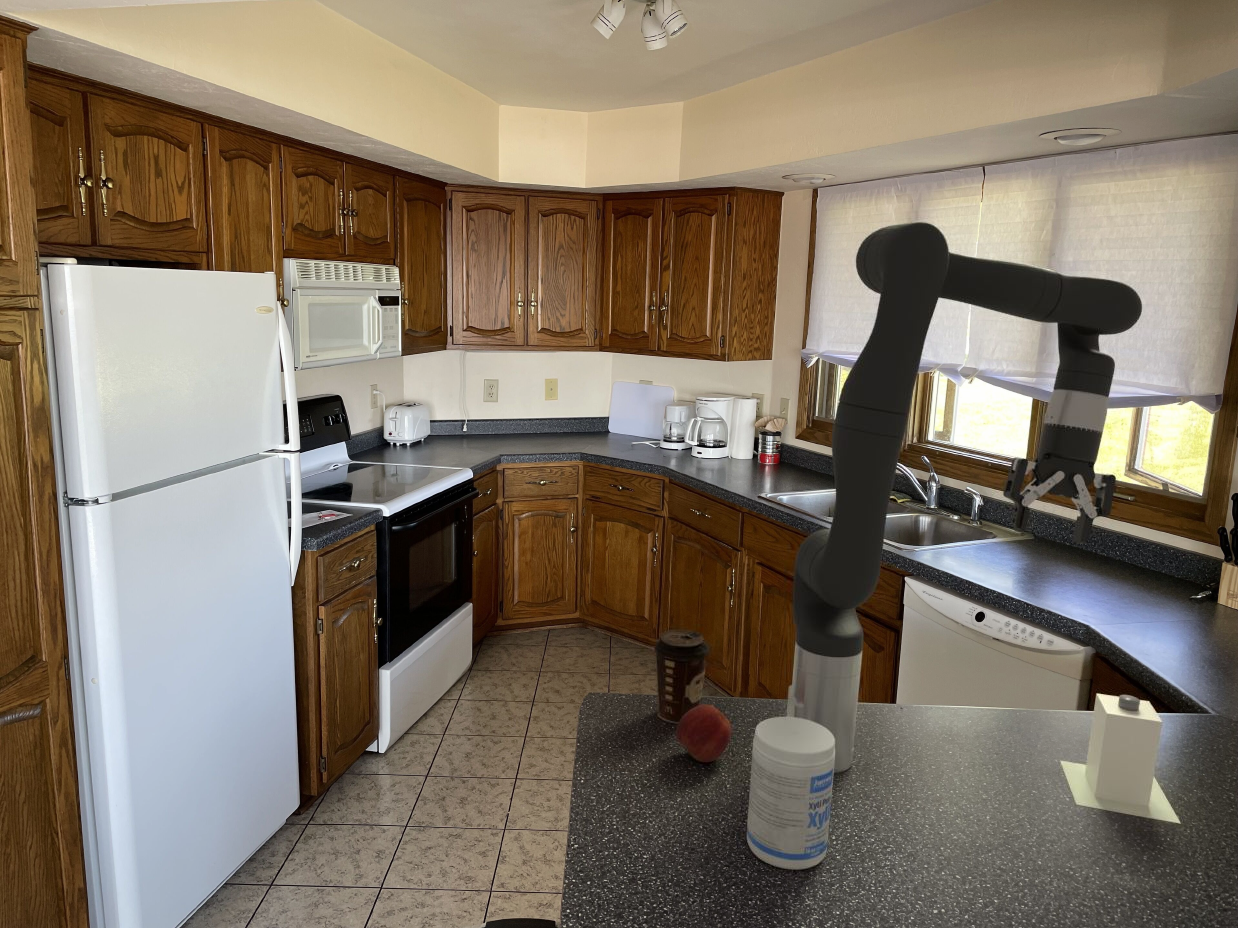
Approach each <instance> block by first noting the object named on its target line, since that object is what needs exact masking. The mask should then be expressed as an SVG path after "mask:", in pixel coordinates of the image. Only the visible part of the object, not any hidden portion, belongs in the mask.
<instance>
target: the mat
mask: <svg viewBox="0 0 1238 928" xmlns="http://www.w3.org/2000/svg"><path fill="white" fill-rule="evenodd" d="M1059 762H1060V764H1061V767H1062V770H1063V772H1064V775H1065V778H1066V781H1067V783H1068V786H1069V789H1070V791H1071V793H1072V797H1073V799H1074V801H1075V802H1074V803H1075V804H1076V805H1077V806H1082V807H1088V808H1093V809H1098V810H1102V811H1103V810H1104V811H1109V812H1114V813H1120V814H1125V815H1129V816H1131V815H1132V816H1137V817H1142V818H1146V819H1147V818H1148V819H1152V820H1158V821H1164V822H1169V823H1174V824H1181V821H1180V819H1179V817H1178V816H1177V814H1176V813H1175V811H1174V808H1173V807H1172V805H1171V803H1170V802H1169V800H1168V799H1167V797H1166V795H1165V793H1164V791H1163V790H1162V788H1161V786H1160V784H1159V783H1158V781H1157V779H1156V778H1155V776H1154V778H1153V784H1152V790H1151V797H1150V803H1149V807H1146V806H1141V805H1135V804H1130V803H1124V802H1119V801H1113V800H1108V799H1102V798H1097V797H1094V794H1093V792H1092V790H1091V787H1090V785H1089V782H1088V780H1087V777H1086V775H1085V769H1086V764H1083V763H1076V762H1071V761H1065V760H1059Z"/></svg>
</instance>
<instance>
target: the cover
mask: <svg viewBox="0 0 1238 928" xmlns="http://www.w3.org/2000/svg"><path fill="white" fill-rule="evenodd" d="M1162 727H1163V721H1162V719H1161V717H1160V715H1159V714H1158V713H1157V711H1156V710H1155V708H1154V707H1153V705H1152V704H1151V702H1150V701H1149V700H1142V699H1139V698H1138V697H1135V696H1133V695H1128V694H1120V695H1119V696H1116V695H1108V694H1101V693H1096V694H1095V702H1094V709H1093V715H1092V722H1091V728H1090V735H1089V736H1090V737H1089V743H1088V750H1087V757H1086V762H1085V765H1086V769H1085V775H1086V777H1087V780H1088V782H1089V785H1090V787H1091V790H1092V792H1093V794H1094V797H1097V798H1102V799H1108V800H1113V801H1119V802H1124V803H1130V804H1135V805H1141V806H1146V807H1149V803H1150V797H1151V790H1152V784H1153V778H1154V777H1155V770H1156V765H1157V759H1158V758H1157V757H1158V752H1159V745H1160V741H1161V740H1160V738H1161V733H1162Z"/></svg>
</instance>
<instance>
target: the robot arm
mask: <svg viewBox="0 0 1238 928" xmlns="http://www.w3.org/2000/svg"><path fill="white" fill-rule="evenodd" d="M855 268H856V272H857V275H858V277H859V279H860V280H861V282H862V283H863V284H864V286H865V287H867V288H868V289H869V290H870V291H872V292H875V293H876V294H879V295H880V296H879V299H878V300H879V301H878V306H877V313H876V317H875V319H874V324H873V327H872V329H871V333H870V336H869V337H868V339H867V342H866V344H865V346H864V347H863V349H862V350H861V353H860V354H859V355H858V357H857V359H856V360H855V362H854V364H853V366H852V367H851V369H850V370H849V373H848V374H847V376H846V379H845V380H844V383H843V385H842V387H841V391H840V395H839V399H838V403H837V407H836V408H837V409H836V412H835V416H834V417H835V418H834V422H833V426H832V428H833V429H832V434H831V435H832V436H831V453H832V454H831V455H832V464H833V465H832V467H833V474H834V477H833V478H834V486H835V502H834V511H833V517H832V520H831V525H830V528H824V529H820V530H816V531H814V532H812V533H811V534H809V535H808V536H807V537H805V539H804V540H803V542H802V543H801V545H800V547H799V549H798V551H797V555H796V557H795V563H794V570H793V571H794V573H793V597H792V616H793V623H794V627H795V645H794V656H793V657H794V658H793V669H792V671H793V672H792V683H791V684H790V685H789V686H788V691H787V703H786V704H787V705H786V707H787V708H786V717H795V718H802V719H806V720H809V721H812V722H815V723H817V724H820V725H822V726H823V727H825V728H826V729H828V730H829V731H830V732H831V733H832V734H833V736H834V738H835V763H834V774H838V773H839V774H840V773H843V772H845V771H847V770H849V769H850V768H851V767H852V764H853V757H854V755H853V754H854V750H855V749H854V743H855V734H856V724H857V722H856V721H857V714H858V713H857V712H858V711H857V710H858V700H859V691H860V679H861V669H862V659H863V648H864V630H863V627H862V624H861V623H860V622H861V621H860V620H859V618H858V615H857V612H856V611H857V610H856V608H857V607H861V606H862V605H863V604H864V603H866V602H867V601H868V600H869V598H871V596H872V595H873V593H874V591H875V590H876V587H877V586H878V583H879V577H880V576H881V575H880V574H881V567H882V560H883V551H884V540H885V532H886V523H887V515H888V510H889V509H888V508H889V505H890V499H891V495H892V491H893V486H894V483H895V477H896V472H897V468H898V463H899V457H900V453H901V450H902V446H903V443H904V439H905V434H906V429H907V427H908V426H907V425H908V421H909V416H910V415H909V414H910V410H911V404H912V401H913V399H912V398H913V396H914V395H913V393H914V389H915V385H916V381H917V379H918V377H917V376H918V373H919V369H920V364H921V360H922V356H923V350H924V347H925V346H924V345H925V342H926V339H927V335H928V333H929V327H930V326H931V322H932V319H933V315H934V312H935V309H936V306H937V304H938V300H939V299H944V300H950V301H955V302H958V303H964V304H967V305H971V306H976V307H979V308H982V309H986V310H990V311H994V312H997V313H1002V314H1005V315H1009V316H1013V317H1016V318H1020V319H1024V320H1029V321H1033V322H1034V321H1035V322H1038V323H1046V324H1056V323H1057V348H1058V350H1057V351H1058V358H1059V364H1058V367H1057V371H1056V377H1055V381H1054V385H1053V390H1052V394H1051V396H1050V399H1049V401H1048V404H1047V407H1046V412H1045V414H1044V418H1043V419H1044V421H1043V426H1042V431H1041V435H1040V439H1039V444H1038V448H1037V457H1036V459H1035V460H1034V461H1031V460H1028V459H1027V458H1024V457H1016V456H1015V457H1014V458H1012V460H1011V463H1010V464H1011V465H1010V467H1009V468H1010V469H1009V471H1008V474H1007V477H1006V482H1005V484H1004V485H1005V486H1004V490H1003V492H1002V495H1003V497H1005V498H1007V499H1008V500H1010V501H1012V502H1013V503H1014V507H1013V511H1012V512H1013V513H1012V519H1011V527H1013V531H1015V532H1017V533H1022V534H1024V533H1025V532H1026V529H1027V524H1028V520H1029V516H1030V511H1031V507H1029V506H1030V505H1031V504H1032V503H1034V502H1035V501H1036V500H1037V499H1038V498H1040V497H1042V496H1044V495H1045V494H1047V495H1052V496H1061V497H1064V498H1070V499H1071V501H1072V502H1073V503H1074V504H1075V506H1076V508H1077V510H1078V512H1079V514H1080V515H1077V516H1076V521H1075V524H1074V530H1073V535H1072V539H1071V540H1072V542H1073V543H1076V544H1082V545H1084V544H1085V542H1086V541H1088V540H1089V539H1090V537H1091V532H1092V528H1093V524H1094V520H1095V519H1097V518H1098V517H1099V518H1100V517H1109V516H1110V515H1111V511H1112V507H1113V506H1112V504H1113V499H1114V498H1113V497H1114V494H1115V493H1114V492H1115V487H1116V480H1117V477H1116V475H1115V474H1111V473H1106V472H1105V473H1104V472H1101V473H1098V472H1097V473H1096V472H1095V464H1096V462H1097V459H1098V456H1099V450H1100V447H1101V441H1102V436H1103V435H1104V434H1103V433H1104V429H1105V424H1106V420H1107V415H1108V404H1109V397H1110V394H1111V393H1110V392H1111V388H1112V383H1113V380H1114V375H1115V370H1116V362H1115V360H1114V358H1113V357H1112V356H1111V355H1109V354H1106V353H1104V352H1101V351H1100V342H1099V339H1100V336H1106V335H1107V336H1108V335H1118V334H1122V333H1124V332H1126V331H1128V330H1130V329H1132V328H1133V327H1134V326H1135V325H1136V323H1137V322H1138V320H1139V319H1140V317H1141V315H1142V312H1143V304H1142V303H1143V302H1142V300H1141V297H1140V295H1139V294H1138V292H1137V291H1136V290H1135V289H1134V288H1132V287H1131V286H1130V285H1128V284H1126V283H1123V282H1121V281H1119V280H1113V279H1107V278H1098V277H1091V276H1082V275H1081V276H1080V275H1079V276H1078V275H1072V274H1066V273H1062V272H1060V271H1056V270H1052V269H1048V268H1044V267H1040V266H1036V265H1032V264H1029V263H1024V262H1020V261H1019V262H1018V261H1010V260H1004V259H1003V260H1002V259H995V258H987V257H986V258H985V257H978V256H972V255H966V254H960V253H956V252H951V251H950V249H949V244H948V241H947V238H946V237H945V235H944V233H943V232H942V231H941V229H940V228H939V227H938V226H936V225H935V224H933V223H930V222H928V221H912V222H905V223H900V224H892V225H887V226H884V227H881V228H879V229H877V230H875V231H872V232H871V233H869V234H868V236H866V237H865V239H864V240H863V241H862V242H861V243H860V245H859V247H858V249H857V252H856V257H855ZM1030 471H1032V473H1033V476H1034V477H1035V478H1034V479H1033V480H1032V481H1031V482H1030V483H1028V485H1026V486H1025V487H1024V490H1022V486H1023V483H1024V480H1025V476H1026V475H1028V474H1029V473H1030ZM1091 483H1093V485H1094V487H1095V494H1094V495H1095V496H1094V500H1093V498H1092V496H1091V494H1090V492H1089V490H1088V488H1087V487H1088V486H1090V484H1091ZM1021 490H1022V491H1021Z"/></svg>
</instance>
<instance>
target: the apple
mask: <svg viewBox="0 0 1238 928" xmlns="http://www.w3.org/2000/svg"><path fill="white" fill-rule="evenodd" d="M675 736H676V739H677V741H678V742H679V744H681V745H683V747H684V748H685V749H686V750H687V752H688V753H687V755H688V756H691V757H692V758H693V759H695V760H696V761H698V762H701V763H711V762H714V761H715V760H717V759H719V758H720V757H721V756H722V755H723V754H724V752H725V751H726V749H727V747H728V745H729V743H730V741H731V737H732V726H731V723H730V721H729V719H728V718H727V717H726V716H725V715H724V714H723V713H722V712H721V710H719V709H718V708H717V707H715V706H713V705H710V704H706V703H705V704H699V706H696V707H694V708H692V709H691V710H689V711H688V712H687V713H686V714H685V715H684V716H683V717H682V718H681V720H680V721H679V723H678V724H676V728H675Z"/></svg>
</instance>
